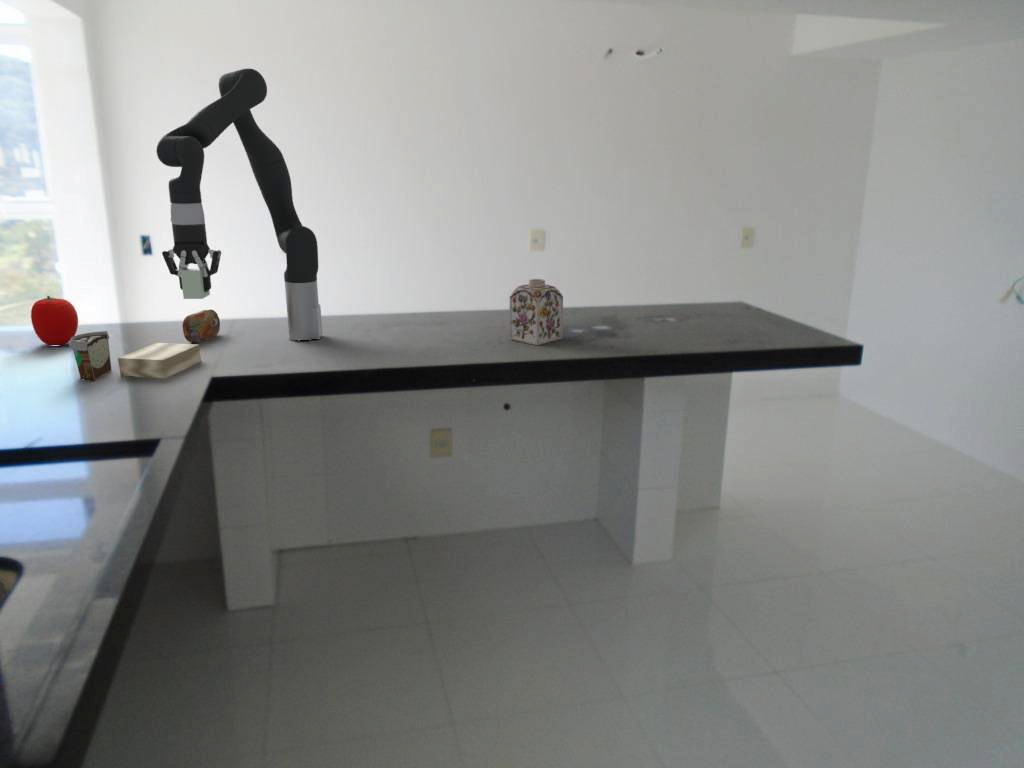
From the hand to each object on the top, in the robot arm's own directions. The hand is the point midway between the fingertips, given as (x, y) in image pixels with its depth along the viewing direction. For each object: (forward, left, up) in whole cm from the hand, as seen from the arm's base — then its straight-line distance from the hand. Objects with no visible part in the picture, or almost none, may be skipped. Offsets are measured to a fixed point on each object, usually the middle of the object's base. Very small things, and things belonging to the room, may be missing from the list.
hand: (196, 291), depth 185 cm
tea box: (0, 0, -1) cm, 1 cm away
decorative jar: (-89, -25, -20) cm, 94 cm away
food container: (+25, +7, -20) cm, 33 cm away
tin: (+10, -31, -20) cm, 38 cm away
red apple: (+49, -27, -20) cm, 59 cm away
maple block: (+10, +1, -20) cm, 23 cm away
